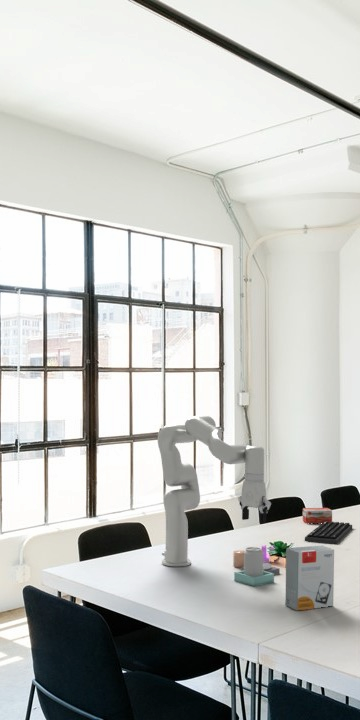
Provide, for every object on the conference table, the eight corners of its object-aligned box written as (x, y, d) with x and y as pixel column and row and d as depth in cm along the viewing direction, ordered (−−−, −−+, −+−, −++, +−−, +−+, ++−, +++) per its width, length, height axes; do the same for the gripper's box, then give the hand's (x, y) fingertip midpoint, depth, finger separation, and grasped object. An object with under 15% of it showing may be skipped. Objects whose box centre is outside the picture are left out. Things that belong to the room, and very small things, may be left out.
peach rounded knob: (230, 565, 308) (230, 551, 308) (240, 563, 311) (240, 549, 312) (240, 568, 303) (240, 554, 303) (250, 566, 307) (250, 552, 307)
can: (241, 580, 281) (241, 549, 282) (247, 575, 288) (247, 545, 289) (259, 582, 278) (259, 551, 279) (265, 577, 285) (265, 547, 286)
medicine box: (306, 524, 406) (306, 510, 407) (302, 521, 414) (302, 507, 415) (332, 524, 408) (332, 510, 408) (328, 521, 416) (328, 507, 416)
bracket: (273, 563, 314) (273, 546, 314) (261, 561, 316) (261, 545, 316) (280, 556, 326) (280, 541, 327) (267, 555, 328) (268, 540, 329)
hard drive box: (296, 611, 244) (296, 552, 245) (284, 605, 251) (284, 547, 252) (334, 606, 251) (334, 548, 251) (321, 600, 258) (321, 544, 258)
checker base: (241, 572, 297) (241, 565, 297) (260, 568, 304) (260, 561, 304) (261, 577, 288) (261, 570, 289) (280, 573, 295) (280, 566, 295)
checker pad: (245, 567, 297) (245, 564, 297) (260, 564, 303) (260, 561, 303) (260, 571, 290) (260, 568, 290) (276, 568, 296) (276, 565, 296)
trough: (234, 580, 284) (234, 572, 284) (254, 576, 291) (254, 568, 291) (254, 586, 275) (254, 578, 275) (274, 582, 282) (274, 573, 282)
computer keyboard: (323, 527, 401) (323, 520, 401) (352, 529, 395) (352, 522, 395) (304, 542, 359) (304, 534, 360) (336, 545, 353) (336, 537, 353)
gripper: (232, 476, 289) (232, 519, 289) (263, 480, 276) (262, 525, 275) (246, 474, 294) (245, 517, 293) (276, 479, 281) (276, 523, 280)
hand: (254, 521), depth 284 cm, fingers open, 9 cm apart
